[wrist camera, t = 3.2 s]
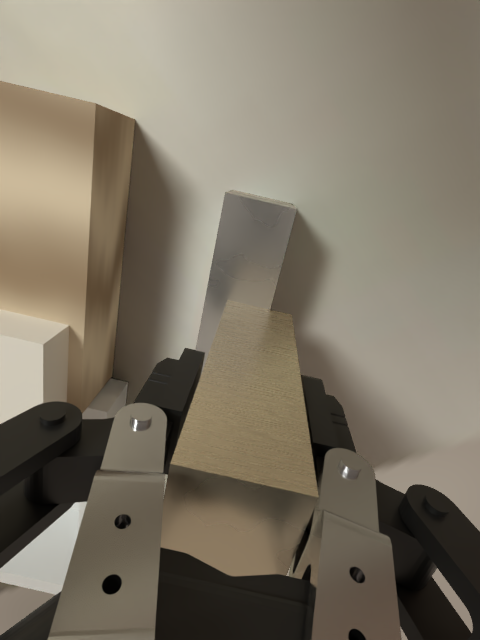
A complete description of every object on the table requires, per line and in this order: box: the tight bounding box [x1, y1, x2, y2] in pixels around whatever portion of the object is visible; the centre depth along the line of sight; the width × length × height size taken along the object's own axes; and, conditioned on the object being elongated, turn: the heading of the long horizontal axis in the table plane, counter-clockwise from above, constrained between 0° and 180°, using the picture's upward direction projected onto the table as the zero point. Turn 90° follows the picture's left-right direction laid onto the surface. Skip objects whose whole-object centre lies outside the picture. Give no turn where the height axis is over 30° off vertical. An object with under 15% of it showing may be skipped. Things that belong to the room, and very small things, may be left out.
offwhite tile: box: [0, 309, 69, 424], centre depth 16 cm, size 5×5×2 cm
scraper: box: [161, 190, 319, 576], centre depth 14 cm, size 4×12×13 cm, turn 168°
